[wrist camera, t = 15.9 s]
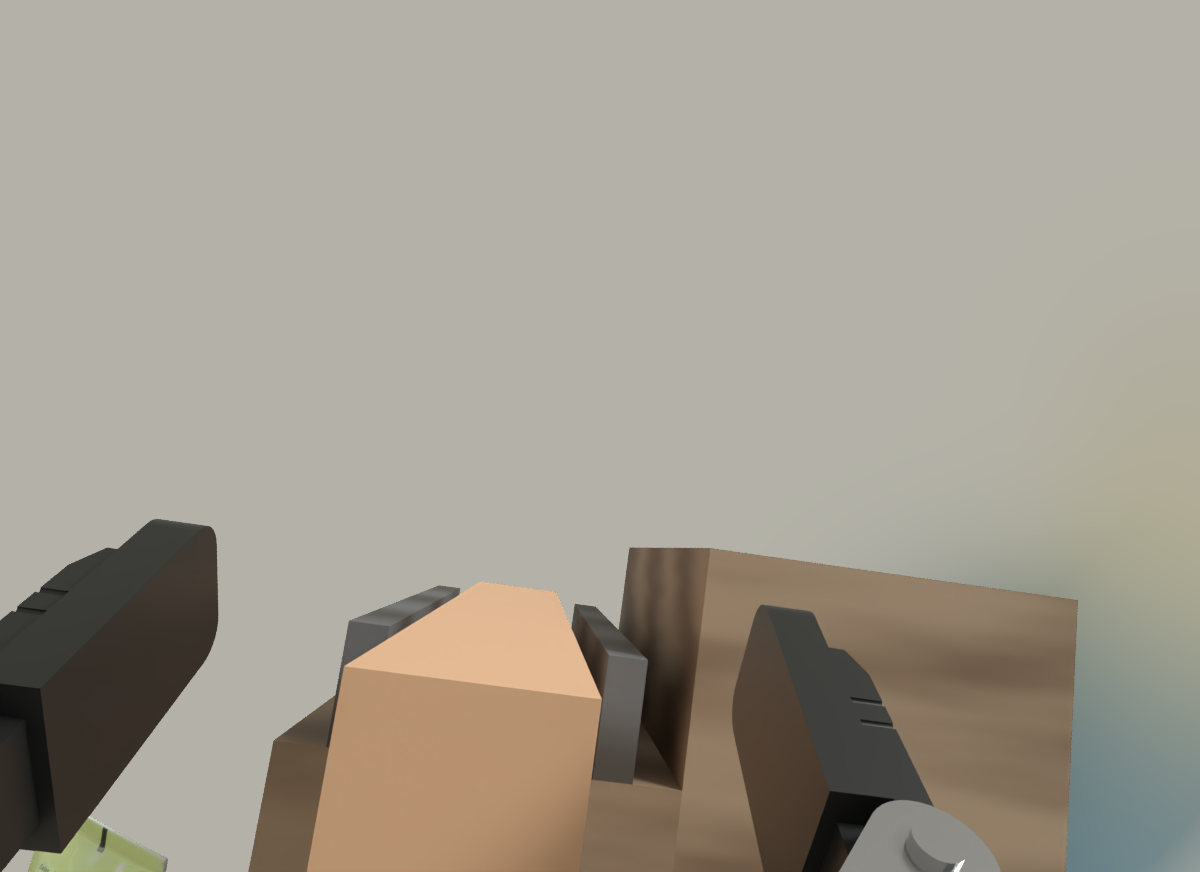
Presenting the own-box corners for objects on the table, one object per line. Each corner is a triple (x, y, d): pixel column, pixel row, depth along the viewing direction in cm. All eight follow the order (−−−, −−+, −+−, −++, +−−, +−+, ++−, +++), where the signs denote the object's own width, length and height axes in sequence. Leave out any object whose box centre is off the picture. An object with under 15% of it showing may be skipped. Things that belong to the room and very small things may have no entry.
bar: (564, 976, 10) (601, 699, 11) (292, 948, 10) (343, 666, 10) (544, 669, 36) (555, 591, 36) (468, 659, 36) (480, 581, 36)
